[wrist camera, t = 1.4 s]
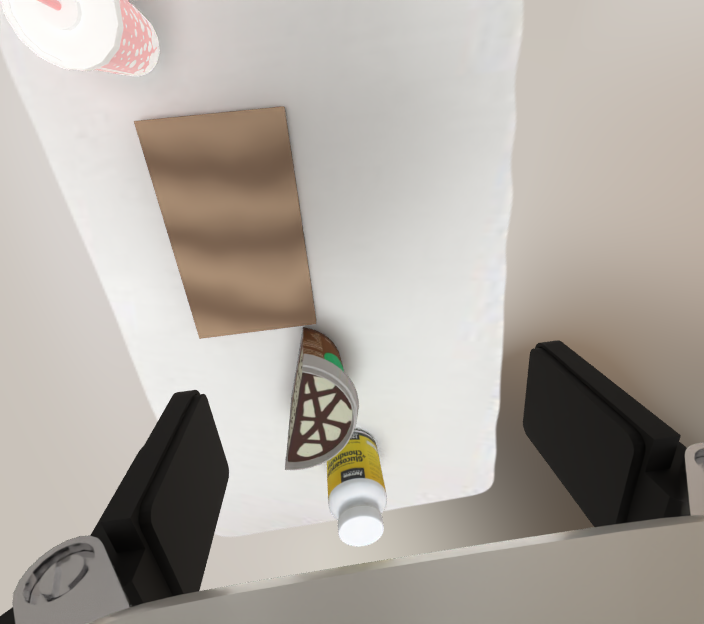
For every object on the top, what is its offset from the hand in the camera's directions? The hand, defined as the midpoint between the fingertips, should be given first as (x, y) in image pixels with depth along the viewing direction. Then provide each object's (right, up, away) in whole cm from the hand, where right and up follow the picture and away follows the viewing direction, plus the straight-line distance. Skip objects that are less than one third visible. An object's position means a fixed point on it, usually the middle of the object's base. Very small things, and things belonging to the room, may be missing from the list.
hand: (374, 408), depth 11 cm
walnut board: (-11, +10, +25) cm, 30 cm away
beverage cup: (-18, +24, +19) cm, 35 cm away
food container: (-4, -3, +33) cm, 33 cm away
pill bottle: (-1, -15, +38) cm, 41 cm away
